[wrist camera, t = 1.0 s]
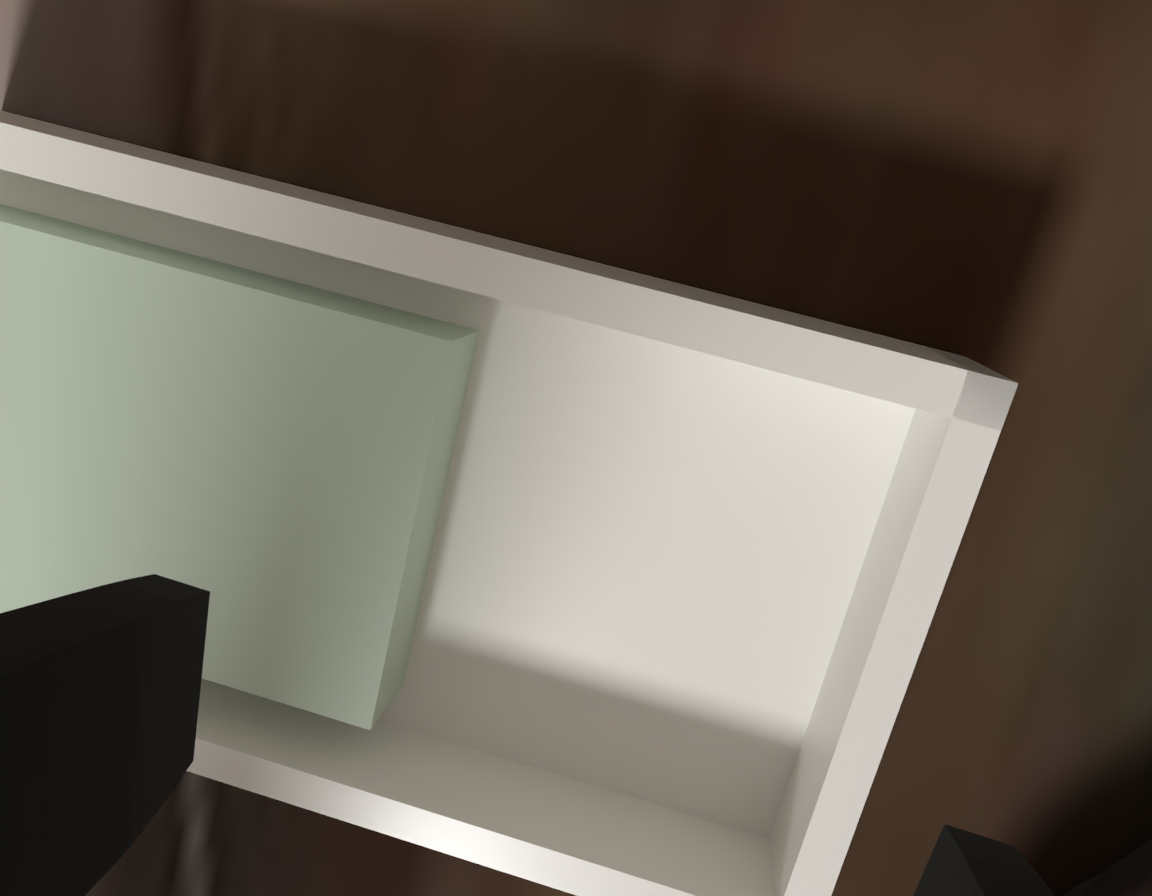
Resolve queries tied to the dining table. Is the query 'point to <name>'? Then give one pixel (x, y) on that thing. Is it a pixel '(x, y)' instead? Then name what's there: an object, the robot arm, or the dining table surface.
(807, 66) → the dining table surface
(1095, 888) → the bible
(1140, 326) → the dining table surface
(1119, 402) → the dining table surface
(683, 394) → the box
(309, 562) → the cover plate
